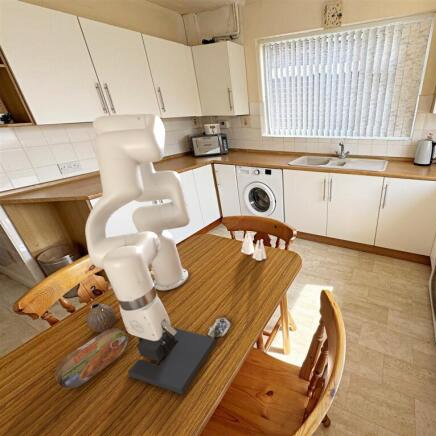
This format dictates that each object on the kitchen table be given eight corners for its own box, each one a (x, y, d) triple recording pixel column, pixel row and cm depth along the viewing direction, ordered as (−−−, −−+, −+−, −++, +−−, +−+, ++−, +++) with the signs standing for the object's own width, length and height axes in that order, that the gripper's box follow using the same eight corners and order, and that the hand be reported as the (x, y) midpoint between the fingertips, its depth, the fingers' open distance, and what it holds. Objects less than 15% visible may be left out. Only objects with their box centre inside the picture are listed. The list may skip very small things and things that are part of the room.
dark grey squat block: (140, 355, 62) (136, 345, 61) (158, 336, 67) (154, 326, 66) (159, 361, 61) (155, 351, 59) (175, 341, 66) (172, 331, 64)
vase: (89, 339, 70) (77, 318, 66) (95, 322, 76) (84, 301, 72) (116, 330, 73) (106, 309, 69) (120, 314, 78) (111, 294, 75)
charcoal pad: (129, 376, 60) (127, 371, 59) (170, 330, 72) (168, 326, 71) (182, 394, 56) (180, 389, 55) (216, 343, 68) (214, 338, 67)
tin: (67, 396, 56) (50, 374, 53) (62, 389, 58) (46, 366, 54) (133, 346, 68) (123, 325, 64) (127, 341, 69) (117, 320, 66)
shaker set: (240, 254, 109) (237, 233, 104) (246, 250, 112) (244, 229, 107) (261, 262, 103) (258, 240, 98) (267, 257, 106) (265, 236, 101)
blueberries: (205, 341, 68) (204, 336, 68) (209, 319, 76) (208, 314, 75) (229, 337, 69) (228, 333, 68) (231, 316, 76) (230, 311, 76)
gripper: (95, 300, 55) (121, 352, 63) (154, 315, 51) (175, 369, 58) (124, 280, 62) (144, 329, 69) (179, 291, 57) (194, 342, 65)
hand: (158, 347), depth 64 cm, fingers closed on dark grey squat block, 6 cm apart
